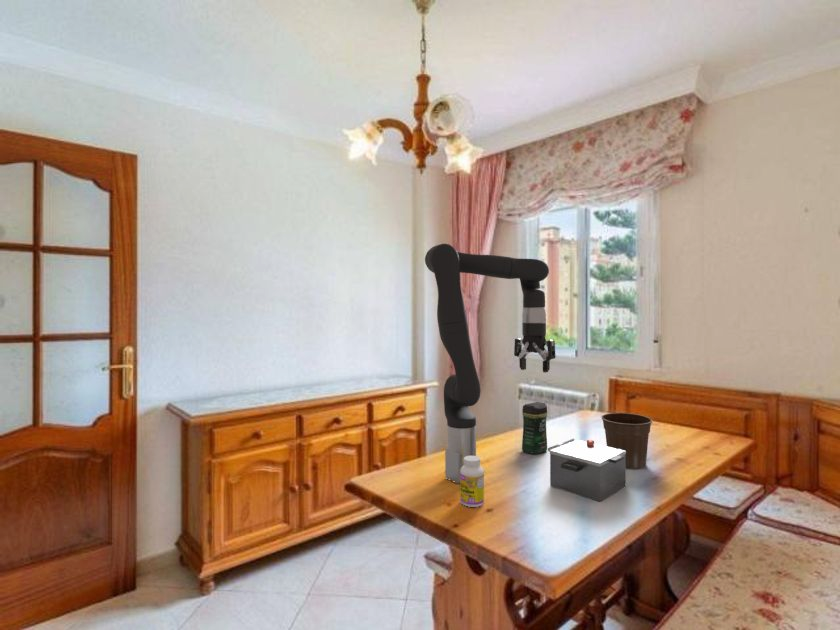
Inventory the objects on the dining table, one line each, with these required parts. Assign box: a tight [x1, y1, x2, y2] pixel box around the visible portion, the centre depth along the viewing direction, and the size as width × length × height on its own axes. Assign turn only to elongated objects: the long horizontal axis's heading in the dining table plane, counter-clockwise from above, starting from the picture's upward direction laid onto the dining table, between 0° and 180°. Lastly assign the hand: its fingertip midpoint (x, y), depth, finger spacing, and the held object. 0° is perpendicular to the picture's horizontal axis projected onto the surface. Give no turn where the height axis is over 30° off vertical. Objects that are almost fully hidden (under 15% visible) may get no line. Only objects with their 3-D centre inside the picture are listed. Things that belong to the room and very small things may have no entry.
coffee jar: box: [521, 401, 548, 455], centre depth 176 cm, size 10×8×19 cm
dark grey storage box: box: [549, 453, 627, 503], centre depth 141 cm, size 22×16×10 cm
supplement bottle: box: [459, 455, 485, 508], centre depth 130 cm, size 7×7×13 cm
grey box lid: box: [547, 438, 626, 467], centre depth 141 cm, size 16×19×2 cm
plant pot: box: [600, 412, 653, 470], centre depth 161 cm, size 16×16×16 cm
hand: (534, 370), depth 151 cm, fingers open, 8 cm apart
